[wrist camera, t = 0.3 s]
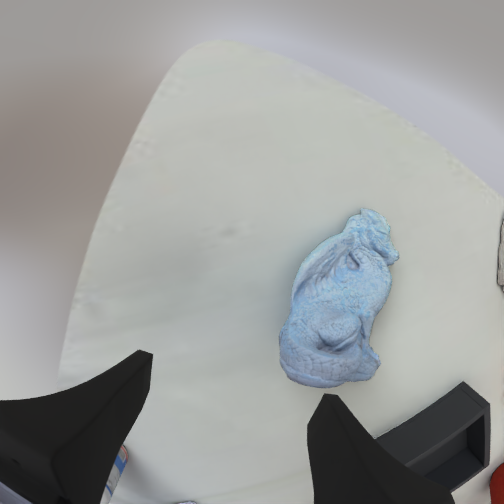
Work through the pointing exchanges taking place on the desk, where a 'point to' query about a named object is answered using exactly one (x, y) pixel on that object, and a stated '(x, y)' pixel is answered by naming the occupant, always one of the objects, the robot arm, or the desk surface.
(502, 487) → the apple
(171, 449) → the desk surface
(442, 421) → the waste bin
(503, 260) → the arrowhead
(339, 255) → the figurine
